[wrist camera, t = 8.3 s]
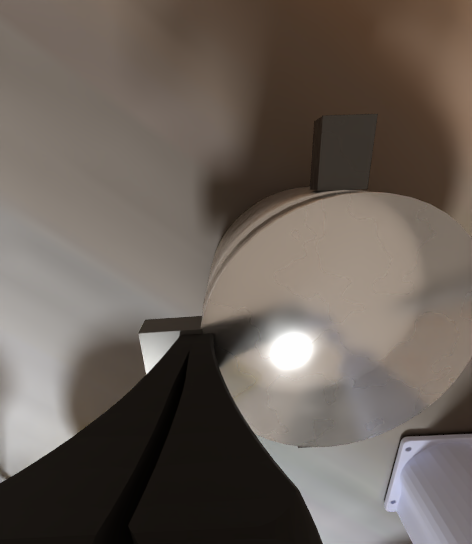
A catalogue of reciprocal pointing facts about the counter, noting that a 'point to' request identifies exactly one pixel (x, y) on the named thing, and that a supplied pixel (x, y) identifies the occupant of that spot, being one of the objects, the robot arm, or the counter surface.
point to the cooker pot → (313, 176)
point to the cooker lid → (336, 317)
